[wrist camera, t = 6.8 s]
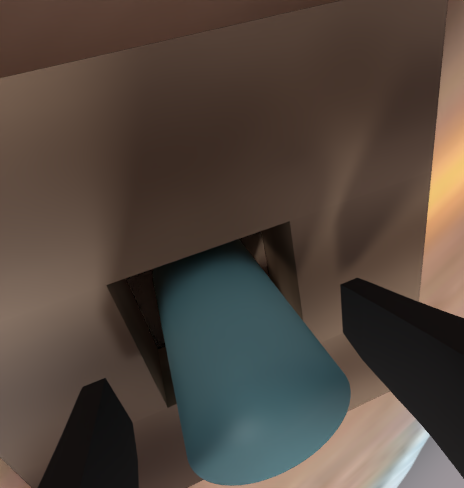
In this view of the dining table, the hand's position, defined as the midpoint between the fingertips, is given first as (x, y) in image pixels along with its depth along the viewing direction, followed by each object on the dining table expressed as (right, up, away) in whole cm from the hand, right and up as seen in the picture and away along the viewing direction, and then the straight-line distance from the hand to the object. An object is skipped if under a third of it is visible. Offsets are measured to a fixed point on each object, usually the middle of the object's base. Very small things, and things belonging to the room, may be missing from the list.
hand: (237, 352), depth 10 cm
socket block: (-1, +2, +4) cm, 4 cm away
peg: (-1, +2, +4) cm, 4 cm away
